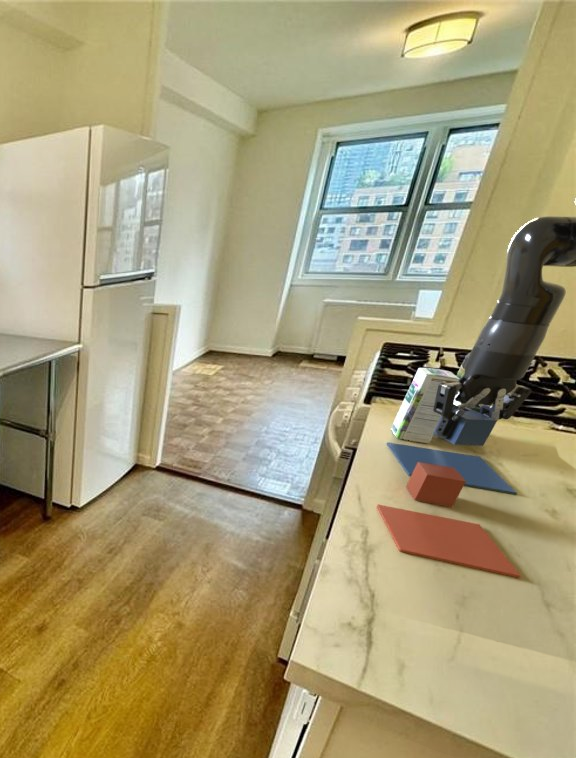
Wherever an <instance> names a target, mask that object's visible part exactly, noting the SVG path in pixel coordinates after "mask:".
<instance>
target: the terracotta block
mask: <svg viewBox="0 0 576 758" xmlns="http://www.w3.org/2000/svg"><path fill="white" fill-rule="evenodd" d="M465 482H466V481H465V480H464V478H463V477H462V476H461V475H460V474H459V473H458V472H457V470H456V469H455V468H451V467H445V466H439V465H433V464H427V463H421V462H418V463H417V465H416V467H415V469H414V471H413V473H412V475H411V476H409V480H408V481H407V483H406V489H407V490H408V492H409V494H410V495H411V497H412V499H413V500H414V501H417V502H422V503H428V504H432V505H438V506H443V507H448V508H453V506H454V504H455V503H456V501H457V499H458V497H459V495H460V494H461V492H462V490H463V488H464V487H465V486H464V484H465Z"/></svg>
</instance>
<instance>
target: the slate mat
mask: <svg viewBox="0 0 576 758" xmlns="http://www.w3.org/2000/svg"><path fill="white" fill-rule="evenodd" d="M386 445H387V447H388V446H389V447H388V448H389V450H390V449H391V450H390V451H391V453H392V454H393V455H394V457H395V458H396V461H398V463H399V465H400V466H401V467H402V469H403V470H404V471H405V473H406V474H407V476H408V477H411V475H412V473H413V471H414V469H415V467H416V465H417V463H418V462H421V463H427V464H433V465H439V466H445V467H451V468H455V469H456V470H457V472H458V473H459V474H460V475H461V476H462V477H463V478H464V480H465V481H466V482H465V484H464V486H463V487H469V488H476V489H482V490H489V491H493V492H499V493H506V494H511V495H517V494H518V492H517V491H516V490H515V489H514V488H513V487H512V486H511V485H510V484H509V483H508V482H507V481H506V480H505V479H504V478H503V477H501V476H500V475H499V474H498V472H496V471H495V469H493V468H492V467H491V466H490V465H489V464H488V463H487V462H486V461H485V460H484V459H483V457H481V456H478V455H474V454H473V455H472V454H466V453H460V452H455V451H447V450H439V449H435V448H434V449H433V448H428V447H422V446H421V447H420V446H414V445H409V444H401V443H394V442H388V441H387V442H386Z"/></svg>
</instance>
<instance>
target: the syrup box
mask: <svg viewBox="0 0 576 758" xmlns="http://www.w3.org/2000/svg"><path fill="white" fill-rule="evenodd" d="M413 377H414V378H413V380H412V382H411V384H410V386H409V388H408V390H407V392H406V394H405V396H404V398H403V400H402V403H401V405H400V407H399V408H398V409H399V410H398V412H397V414H396V415H395V418H394V421H393V423H392V425H391V428H390V431H391V430H392V431H391V432H392V434H393V435H394V436H395V438H396V439H397V440H402V439H404V440H403V441H408V440H409V441H408V442H416V443H423V444H430V442H431V441H432V438H433V436H434V435H435V434H434V431H435V429H436V427H437V425H438V423H439V421H440V419H441V416H442V415H440V414H438V413H436V412H434V411H433V409H434V404H435V399H436V394H437V389H438V385H439V383H441V382H446V383H454V382H458V380H459V379H460V378H458V377H457V376H456V374H454V373H453V372H452V371H449V370H445V369H439V368H432V367H418V368H417V370H416V373H415V374H414V376H413Z"/></svg>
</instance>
